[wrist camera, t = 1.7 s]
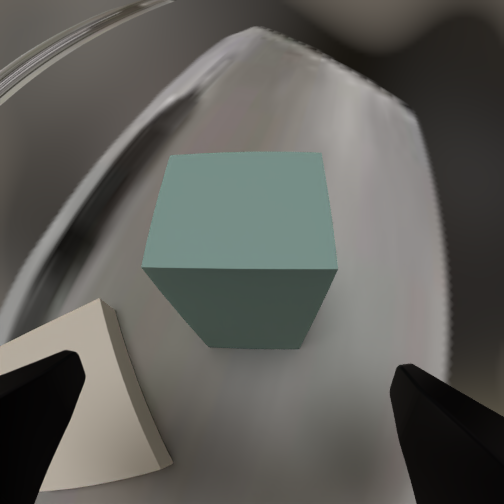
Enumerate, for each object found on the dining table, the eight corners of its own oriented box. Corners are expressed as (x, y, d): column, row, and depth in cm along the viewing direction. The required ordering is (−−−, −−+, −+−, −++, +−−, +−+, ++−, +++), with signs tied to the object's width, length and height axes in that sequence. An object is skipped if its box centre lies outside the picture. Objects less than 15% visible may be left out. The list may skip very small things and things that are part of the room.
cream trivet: (173, 463, 15) (161, 469, 13) (49, 488, 13) (30, 492, 11) (114, 310, 21) (99, 298, 19) (12, 357, 19) (-7, 349, 17)
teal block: (299, 348, 19) (337, 269, 9) (208, 347, 20) (141, 267, 9) (297, 280, 22) (321, 152, 11) (214, 279, 22) (170, 155, 12)
